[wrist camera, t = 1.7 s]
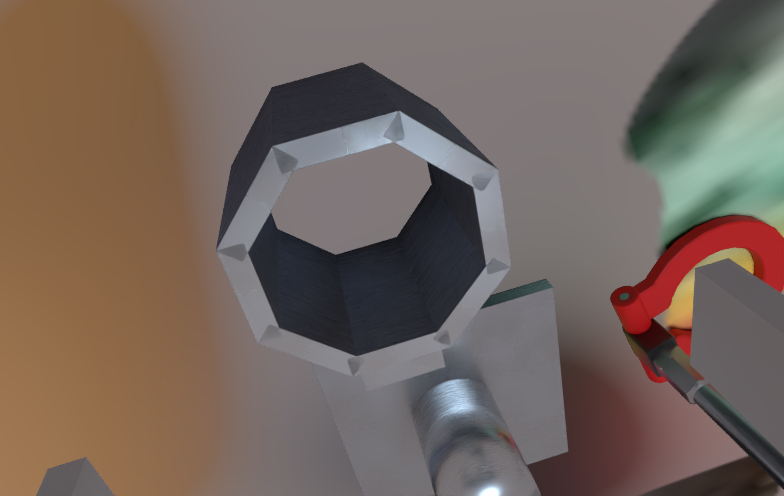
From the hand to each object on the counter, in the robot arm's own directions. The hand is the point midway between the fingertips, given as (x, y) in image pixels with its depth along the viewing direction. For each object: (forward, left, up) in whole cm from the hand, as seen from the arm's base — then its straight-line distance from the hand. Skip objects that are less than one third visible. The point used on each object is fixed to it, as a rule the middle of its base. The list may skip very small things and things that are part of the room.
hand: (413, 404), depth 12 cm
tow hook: (+11, +17, -13) cm, 24 cm away
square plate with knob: (+14, +2, -13) cm, 19 cm away
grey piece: (+1, 0, -13) cm, 13 cm away
